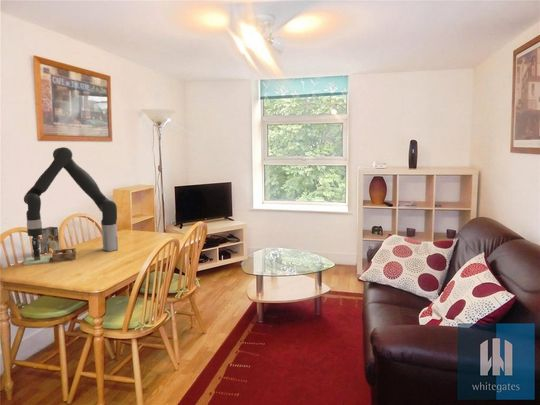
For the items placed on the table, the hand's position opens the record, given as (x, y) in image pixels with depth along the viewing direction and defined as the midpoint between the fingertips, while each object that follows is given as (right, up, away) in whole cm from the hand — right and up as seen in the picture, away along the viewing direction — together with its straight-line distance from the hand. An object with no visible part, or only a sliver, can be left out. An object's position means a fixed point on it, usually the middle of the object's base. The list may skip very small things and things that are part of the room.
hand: (37, 255), depth 237 cm
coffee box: (-5, -1, +24) cm, 24 cm away
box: (+13, -3, +6) cm, 15 cm away
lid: (0, -3, 0) cm, 4 cm away
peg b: (+12, -3, +4) cm, 13 cm away
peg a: (+15, -2, +9) cm, 17 cm away
